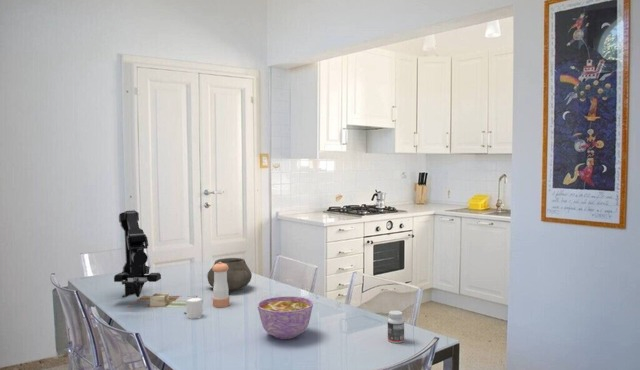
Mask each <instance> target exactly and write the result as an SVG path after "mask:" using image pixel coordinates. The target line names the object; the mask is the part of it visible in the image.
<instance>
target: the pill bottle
mask: <svg viewBox="0 0 640 370" xmlns="http://www.w3.org/2000/svg"><path fill="white" fill-rule="evenodd" d="M403 315H404V314H403V311H400V310H390V311H389V312H388V317H389V318H387V341H388V342H390V343H393V344H401V343H403V342H404V341H405V320H404V318H403Z"/></svg>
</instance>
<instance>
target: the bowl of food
mask: <svg viewBox="0 0 640 370" xmlns="http://www.w3.org/2000/svg"><path fill="white" fill-rule="evenodd" d="M313 307H314V302H313V301H312V300H311V299H309V298H306V297H301V296H291V295H290V296H275V297H269V298H265V299H264V300H261V301H259V302H258V303H257V309H258V313H259V319H260V321H261V325H262V328H263V329H264V331H265V332H266V333H267V334H268V335H271V336H272V337H275V338H276V339H279V340H290V339H294V338H296V337H297V336H299V335H301V334H303V333H304V332H305V331H306V329H307V328H308V326H309V323H310V319H311V315H312V311H313Z"/></svg>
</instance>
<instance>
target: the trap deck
mask: <svg viewBox="0 0 640 370" xmlns="http://www.w3.org/2000/svg"><path fill="white" fill-rule="evenodd" d="M151 296H152V295H142V296H141V297H139V298H138V299H136V300H135V301H134V302H132V303H131V304H129V305H127V308H130V307H131V306H132V305H133V304H135V303H137V302H139V303H140V302H142V303H143V302H148V303H149V304H147V305H146V306H145V308H186V300H178V299H180V297H181V295H169V303H168V304H166V305H165V306H150V297H151ZM194 298H198V295H195V296H194Z"/></svg>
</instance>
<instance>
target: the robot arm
mask: <svg viewBox="0 0 640 370" xmlns="http://www.w3.org/2000/svg"><path fill="white" fill-rule="evenodd" d="M139 216H140V213H139V212H138V211H137V210H135V209H134V210H133V209H131V210H126V211H124V212H120V213H119V214H118V222H119V223H120V227H121V229H122V230H123V231H124V249H125V263H124V265H123V266H122V271H121V272H119V273H117V274H115V275H114V277H113V281H114V282H116V283H118V282H120V283H121V285H124V294H123V295H121V298H127V297H129V296H130V295H134V294H135V296H136V297H137V298H140V296H141V292H142V291H143V287H144V285H145V283H147V282H148V283H151V282H152V283H154V282H155V283H156V282H158V281H159V280H160V281H161V280H162V275H161V273H160V272H151V273H150V266H148V265H146V263H147V262H148V254H146V252H145V250H146V249H148V247H149V241H148V237H147V235H146V234H145V232H144V230H143V229H142V228H141V227H140V226H139V225H140V224H139V221H140V220H139V219H140V217H139Z"/></svg>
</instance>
